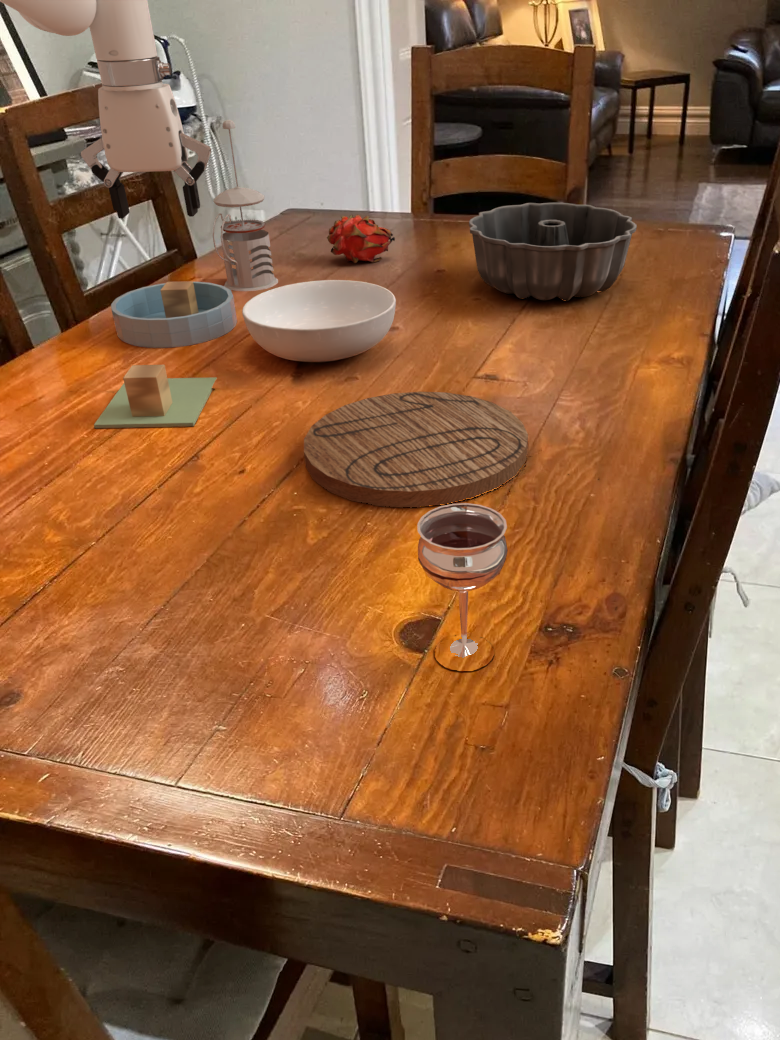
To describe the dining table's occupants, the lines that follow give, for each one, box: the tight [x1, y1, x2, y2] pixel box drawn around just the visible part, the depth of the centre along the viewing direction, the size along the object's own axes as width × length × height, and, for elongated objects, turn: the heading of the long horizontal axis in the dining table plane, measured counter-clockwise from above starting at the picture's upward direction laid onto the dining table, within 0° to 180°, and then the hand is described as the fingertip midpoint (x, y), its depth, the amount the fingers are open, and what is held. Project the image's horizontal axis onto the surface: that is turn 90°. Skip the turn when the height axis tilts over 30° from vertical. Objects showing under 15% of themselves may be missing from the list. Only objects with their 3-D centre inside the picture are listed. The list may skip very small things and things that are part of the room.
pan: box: [110, 281, 238, 349], centre depth 138 cm, size 17×17×4 cm
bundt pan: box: [468, 202, 638, 302], centre depth 150 cm, size 26×26×10 cm
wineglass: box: [416, 502, 508, 658], centre depth 72 cm, size 7×7×12 cm
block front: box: [122, 364, 173, 417], centre depth 114 cm, size 4×4×5 cm
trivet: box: [303, 391, 529, 509], centre depth 105 cm, size 25×25×2 cm
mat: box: [93, 376, 218, 429], centre depth 118 cm, size 12×14×1 cm
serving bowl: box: [241, 279, 397, 363], centre depth 129 cm, size 21×21×7 cm
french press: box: [212, 119, 279, 292], centre depth 149 cm, size 10×12×25 cm
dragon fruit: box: [326, 214, 396, 264], centre depth 165 cm, size 8×8×12 cm
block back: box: [160, 280, 199, 318], centre depth 141 cm, size 4×4×5 cm
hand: (158, 215), depth 130 cm, fingers open, 9 cm apart
